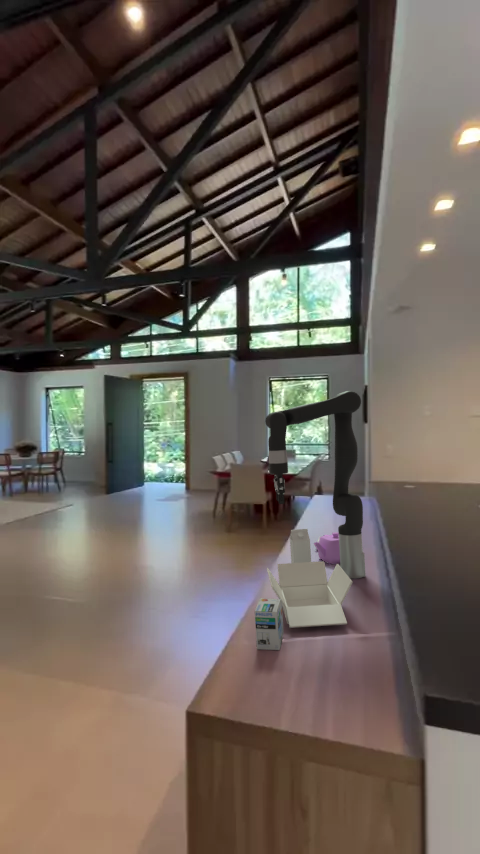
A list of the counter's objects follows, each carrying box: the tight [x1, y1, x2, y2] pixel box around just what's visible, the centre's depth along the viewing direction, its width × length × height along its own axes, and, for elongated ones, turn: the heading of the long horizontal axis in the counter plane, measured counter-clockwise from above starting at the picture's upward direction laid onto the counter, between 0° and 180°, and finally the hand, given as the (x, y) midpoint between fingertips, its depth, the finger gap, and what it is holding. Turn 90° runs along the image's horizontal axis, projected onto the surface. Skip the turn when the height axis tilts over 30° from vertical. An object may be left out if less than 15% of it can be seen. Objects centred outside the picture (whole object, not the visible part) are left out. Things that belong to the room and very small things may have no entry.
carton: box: [266, 560, 354, 629], centre depth 153 cm, size 25×32×12 cm
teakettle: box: [313, 531, 340, 565], centre depth 215 cm, size 17×17×12 cm
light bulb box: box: [254, 597, 285, 651], centre depth 135 cm, size 11×7×11 cm, turn 169°
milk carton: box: [289, 528, 312, 563], centre depth 195 cm, size 7×7×19 cm
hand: (280, 502), depth 186 cm, fingers open, 8 cm apart
